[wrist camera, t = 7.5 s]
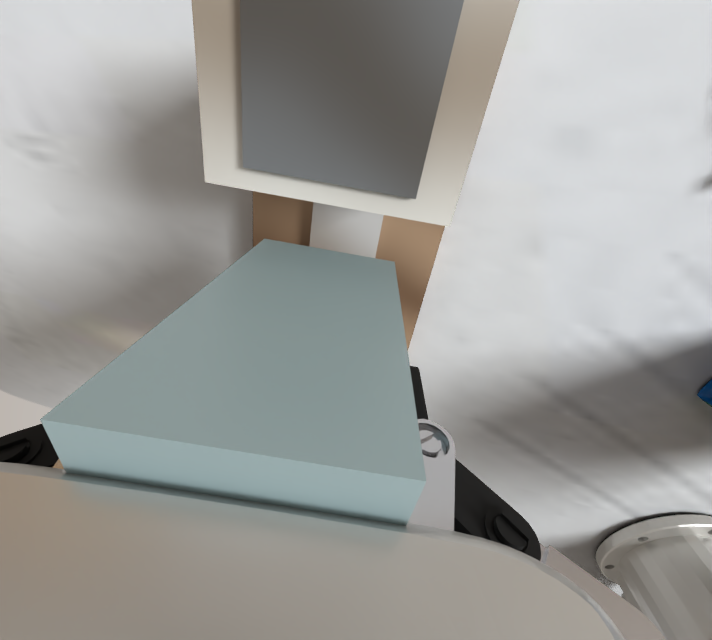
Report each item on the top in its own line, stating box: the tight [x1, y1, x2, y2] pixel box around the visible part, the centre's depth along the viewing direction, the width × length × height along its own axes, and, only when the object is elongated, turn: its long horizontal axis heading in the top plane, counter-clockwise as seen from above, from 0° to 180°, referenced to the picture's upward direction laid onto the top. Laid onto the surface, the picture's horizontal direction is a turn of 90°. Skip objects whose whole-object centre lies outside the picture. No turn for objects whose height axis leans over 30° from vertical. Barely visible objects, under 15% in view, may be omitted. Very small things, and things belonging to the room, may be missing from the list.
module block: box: [40, 239, 426, 526], centre depth 9 cm, size 7×4×8 cm, turn 171°
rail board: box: [192, 0, 520, 351], centre depth 15 cm, size 24×10×10 cm, turn 171°
